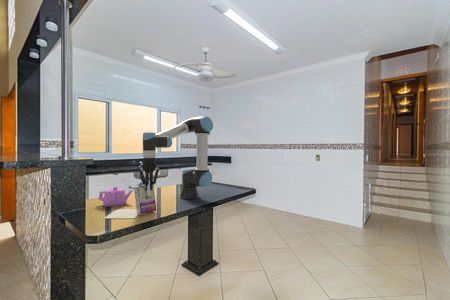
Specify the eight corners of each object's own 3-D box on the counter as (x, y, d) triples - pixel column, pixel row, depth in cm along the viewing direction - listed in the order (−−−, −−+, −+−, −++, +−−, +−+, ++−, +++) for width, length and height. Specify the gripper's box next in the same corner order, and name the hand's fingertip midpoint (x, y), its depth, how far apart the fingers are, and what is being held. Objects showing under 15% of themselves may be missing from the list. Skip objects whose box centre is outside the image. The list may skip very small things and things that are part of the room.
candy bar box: (152, 211, 145) (149, 185, 147) (156, 210, 142) (154, 184, 144) (136, 214, 136) (133, 187, 138) (140, 214, 133) (138, 186, 135)
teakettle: (96, 205, 158) (96, 187, 158) (118, 200, 173) (118, 184, 173) (112, 208, 150) (112, 190, 150) (133, 202, 165) (133, 186, 165)
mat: (145, 209, 148) (145, 209, 148) (134, 218, 130) (134, 218, 130) (117, 209, 147) (117, 209, 147) (103, 218, 129) (103, 218, 129)
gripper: (161, 157, 142) (161, 194, 142) (140, 157, 141) (140, 194, 142) (158, 157, 134) (158, 197, 135) (136, 157, 134) (136, 196, 134)
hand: (149, 195), depth 138 cm, fingers closed
